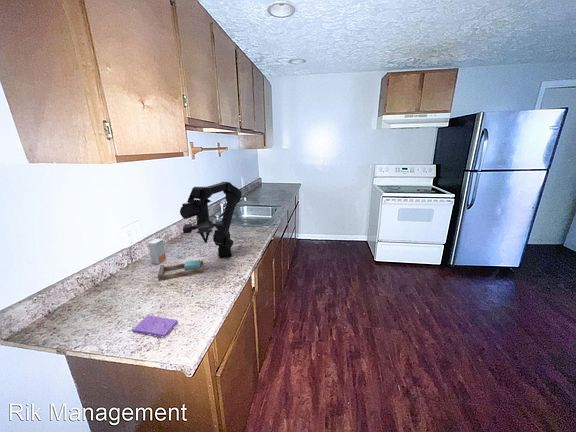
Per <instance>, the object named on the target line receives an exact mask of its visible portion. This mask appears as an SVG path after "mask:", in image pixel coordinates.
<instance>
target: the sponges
mask: <svg viewBox="0 0 576 432" xmlns="http://www.w3.org/2000/svg"><path fill="white" fill-rule="evenodd" d="M175 325H176V326H177V325H178V319H173V318H167V317H161V316H155V315H150V314H147V315H146V316H144V318H143V319H142V320H141V321H140V322H138V323H137V324H136V326H134V328H132V333H136V332H137V333H136V334H141V333H143V334H142V335H146V334H151V335H150V336H152V335H156V336H155V337H157V336H163V337H165V336H166V335H167V334H168V333H169V334H170V332H171V331H172V330H173V329H174V328H175V327H176V326H175ZM174 326H175V327H174ZM173 327H174V328H173ZM172 328H173V329H172ZM171 329H172V330H171ZM170 330H171V331H170ZM169 334H168V335H169ZM168 335H167V336H168ZM167 336H166V337H167ZM166 337H165V338H166Z"/></svg>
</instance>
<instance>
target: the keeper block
mask: <svg viewBox="0 0 576 432" xmlns="http://www.w3.org/2000/svg"><path fill="white" fill-rule="evenodd" d="M200 261H201V259H194V260H188V261H185V262H184V263H185V265H184V268H183V269H184V271H187V270H193V269H198V268H202V265H201V263H200Z"/></svg>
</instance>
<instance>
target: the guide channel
mask: <svg viewBox="0 0 576 432" xmlns="http://www.w3.org/2000/svg"><path fill="white" fill-rule="evenodd" d="M200 263H201V266H203V265H204V260H203V259H202V260H201V259H200ZM184 265H185V262H184V263H183V262H182V263H179V264H173V265H166V266H165V264H161V265H160V266H159V270H158V273H157V280H158V282H161V281H165V280H170V279H175V278H176V279H177V278H182V277H186V276H191V275H197V274H201V273H205V268H204V267H201V268H198V269H193V270H187V271H185V270H181V271H178V272H177V271H176V272H171V273H166V272H169V271H175V270H180V269H185V268H184ZM165 273H166V274H165Z"/></svg>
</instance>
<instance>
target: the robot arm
mask: <svg viewBox="0 0 576 432" xmlns="http://www.w3.org/2000/svg"><path fill="white" fill-rule="evenodd" d="M222 192H223V194H224V195H225V201H226V205H225V208H224V211H223V214H222V219H221V220H216V221H213V220H210V214H209V203H211V202H212V200H210V198H211V197H212V196H213V195H214V194H218V193H222ZM242 196H243V194H242V191H241V190H240V189H239V188H238V187H236V186H235V185H233V184H232V183H231V182H230V181H221V182H218V183H214V184H212V185H208V186H193V187H192V188H191V191H190V194H189V197H188V199H187V201H186V202H183V203H182V206H181V207H180V210H179V214H180V217H182V219H184V220H188V219H190V218H194V217H196V225H193V223H188V224H185V223H184V225H183V226H182V232H183V235H184V234H185V235H186V234H191V233H192V232H193V231H196V234H199V235H200V236H201V239H202V240H203V243H205V244H207V243H208V240H209V236H210V233H212V232H213V229H214V228H215V230H214V233H213V235H212V237H213V238H212V240H213V243H214V244H215V246H218V247H217V253H218V257H219V259H225V258H230V257H231V258H232V257H233V255H232V247H233V245H234V240H232V239H231V232H230V227H231V224H232V219H233V216H234V213H235V209H236V206H237V204H238V203H239V202H241V200H242V199H241V198H242Z"/></svg>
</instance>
